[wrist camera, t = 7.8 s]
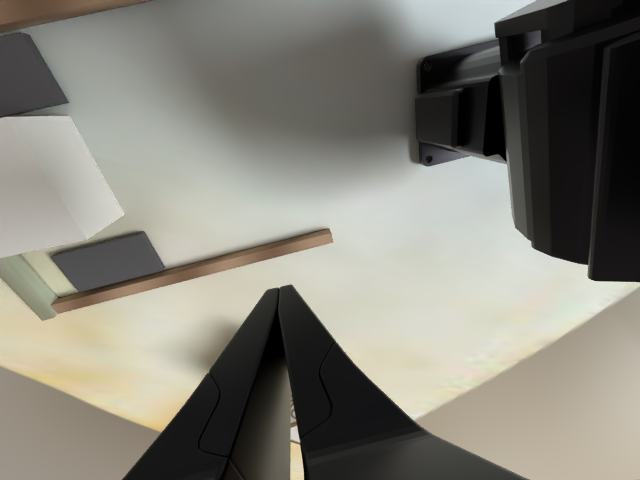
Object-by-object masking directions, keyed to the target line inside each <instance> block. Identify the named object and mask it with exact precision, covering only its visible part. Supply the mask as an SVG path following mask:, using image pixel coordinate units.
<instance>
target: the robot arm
mask: <svg viewBox="0 0 640 480" xmlns="http://www.w3.org/2000/svg"><path fill="white" fill-rule="evenodd" d="M494 26H495V36H496V38H499V40H495V41H491V42H487V43H483V44H478V45H474V46H470V47H465V48H461V49H457V50H453V51H448V52H444V53H440V54H435V55H431V56H427V57H425V58H422V59H421V60H420V61H419V63H418V65H417V89H418V96H417V97H416V99H415V110H416V138H417V140H418V141H419V159H420V163H421V164H422V165H424V166H432V165H436V164H440V163H444V162H448V161H452V160H456V159H460V158H464V157H468V156H473V157H477V158H482V159H486V160H490V161H495V162H499V163H504V164H507V167H508V177H509V187H510V198H511V208H512V217H513V220H514V224H515V228H517V229H518V230H519V231H520V232H521V233H522V234H523V235H524V236H525V237H526V238H527V239H528V240H530V241H531V245H532V247H533V248H534V249H536V250H538V251H540V252H543V253H545V254H547V255H549V256H552V257H555V258H559V259H563V260H566V261H570V262H574V263H578V264H584V265H588V278H589V279H591V280H594V281H617V282H640V0H537V1H535V2H533V3H531V4H529V5H527V6H525V7H524V8H522V9H520V10H518V11H516V12H514V13H512V14H510V15H508V16H506V17H504V18H503V19H501V20H499V21H497V22H495V23H494ZM426 62H427V63H428V65H429V68H428V70H427V71H426V70H425V69H424V64H425V63H426ZM427 156H430V158H429V160H428V161H427V162H426V157H427ZM291 393H292V399H293V405H294V411H295V417H296V423H297V428H298V434H299V439H300V446H301V452H302V459H303V468H304V480H529V479H526V478H524V477H522V476H520V475H518V474H516V473H514V472H511V471H509V470H507V469H505V468H503V467H501V466H499V465H496V464H494V463H492V462H490V461H488V460H486V459H484V458H482V457H480V456H478V455H475V454H473V453H471V452H469V451H467V450H465V449H463V448H461V447H458V446H456V445H454V444H452V443H450V442H448V441H446V440H444V439H441V438H439V437H437V436H435V435H433V434H432V433H430V432H428V431H427V430H425V429H424V428H423V427H421V426H420V425H418V424H417V423H416V422H415V421H414V420H412V419H411V418H410V417H409V416H408V415H407V414H406V413H405V412H404V411H403V410H402V409H401V408H399V407H398V406H397V405H396V404H395V403H394V402H393V401H392V400H391V399H390V398H389V397H388V396H387V395H386V394H385V393H384V392H383V391H382V390H381V389H380V388H378V387H377V386H376V385H375V384H374V383H373V382H372V381H371V380H370V379H369V378H368V377H367V376H366V375H365V374H364V373H363V372H362V371H361V370H360V369H359V368H358V367H357V366H356V365H355V364H354V363H353V361H352V360H351V359H350V358H349V357H348V355H347V354H346V353H345V352H344V351H343V349H342V348H341V347H340V346H339V344H338V343H336V341H335V339H334V338H333V337H332V335H331V334H330V333H329V332H328V330H327V329H326V328H325V326H324V325H323V324H322V323H321V321H320V320H319V319H318V317H317V316H316V315H315V314H314V312H313V311H312V310H311V308H310V307H309V306H308V305H307V303H306V302H305V301H304V300H303V298H302V297H301V296H300V294H299V293H298V292H297V291H296V289H295V288H294V287H293V285H286V286H282V287H280V289H279V288H273V289H268V290H267V291H266V292H265V293H264V295H263V296H262V297H261V299H260V300H259V302H258V303H257V304H256V306H255V307H254V309H253V310H252V311H251V313H250V314H249V316H248V317H247V318H246V320H245V321H244V323H243V324H242V325H241V327H240V328H239V330H238V331H237V332H236V334H235V335H234V337H233V338H232V339H231V341H230V342H229V344H228V345H227V347H226V348H225V349H224V351H223V352H222V354H221V355H220V356H219V358H218V359H217V361H216V362H215V363H214V365H213V366H212V368H211V369H210V370H209V373H207V374H206V376H205V377H204V379H203V380H202V381H201V383H200V384H199V386H198V387H197V388H196V390H195V391H194V392H193V394H192V395H191V396H190V398H189V399H188V400H187V402H186V403H185V404H184V406H183V407H182V408H181V409H180V411H179V412H178V413H177V414H176V415H175V417H174V418H173V419H172V420H171V422H170V423H169V424H168V425H167V427H166V428H165V429H164V430H163V431H162V433H161V434H160V435H159V436H158V438H157V439H156V440H155V441H154V442H153V444H152V445H151V446H150V447H149V448H148V449H147V451H146V452H145V453H144V454H143V456H142V457H141V458H140V459H139V460H138V461H137V462H136V464H135V465H134V466H133V467H132V468H131V470H130V471H129V472H128V473H127V475H126V476H125V477H124V478H123V479H122V480H290V437H291Z"/></svg>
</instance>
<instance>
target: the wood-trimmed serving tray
mask: <svg viewBox="0 0 640 480" xmlns="http://www.w3.org/2000/svg"><path fill="white" fill-rule="evenodd" d="M146 1H151V0H0V33H2V32H7V31H11V30H16V29H21V28H25V27H30V26H34V25H39V24H44V23H48V22H53V21H58V20H62V19H67V18H72V17H76V16H81V15H86V14H90V13H95V12H100V11H104V10H109V9H114V8H118V7H123V6H128V5H132V4H137V3H142V2H146ZM329 243H333V239H332V235H331V232H330V229H326V230H322V231H318V232H314V233H311V234H307V235H303V236H299V237H295V238H291V239H287V240H283V241H279V242H276V243H272V244H268V245H264V246H260V247H256V248H252V249H248V250H244V251H241V252H237V253H233V254H229V255H225V256H221V257H217V258H213V259H209V260H206V261H202V262H198V263H194V264H190V265H186V266H182V267H178V268H174V269H171V270H167V271H163V272H159V273H155V274H151V275H147V276H143V277H139V278H136V279H132V280H128V281H124V282H120V283H116V284H112V285H108V286H104V287H101V288H97V289H93V290H89V291H85V292H81V293H77V294H73V295H69V296H66V297H62V298H58V297H57V296H56V295H55V293H54V292H53V291H52V290H51V289H50V288H49V287H48V285H47V284H46V283H45V282H44V281H43V280H42V279H41V277H40V276H39V275H38V274H37V273H36V272H35V271H34V269H33V268H32V267H31V266H30V265H29V264H28V263H27V261H26V260H25V259H24V258H23V257H22V256H21V255H20V254H17V255H13V256H8V257H3V258H0V277H1V278H2V279H3V280H4V281H5V282H6V283H7V285H8V286H9V287H10V288H11V289H12V290H13V291H14V292H15V293H16V294H17V295H18V296H19V297H20V298H21V299H22V300H23V301H24V302H25V303H26V304H27V305H28V306H29V307H30V308H31V309H32V311H33V312H34V313H35V314H36V315H37V316H38V317H39V318H40V319H41V320H42V321H43V320H47V319H51V318H54V317H55V316H56V315H57V314H59V313H63V312H67V311H71V310H75V309H78V308H82V307H86V306H90V305H94V304H98V303H101V302H105V301H109V300H113V299H117V298H121V297H125V296H128V295H132V294H136V293H140V292H144V291H148V290H152V289H155V288H159V287H163V286H167V285H171V284H175V283H179V282H182V281H186V280H190V279H194V278H198V277H202V276H206V275H209V274H213V273H217V272H221V271H225V270H229V269H232V268H236V267H240V266H244V265H248V264H252V263H256V262H259V261H263V260H267V259H271V258H275V257H279V256H283V255H286V254H290V253H294V252H298V251H302V250H306V249H310V248H313V247H317V246H321V245H325V244H329Z"/></svg>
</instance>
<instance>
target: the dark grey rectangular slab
mask: <svg viewBox="0 0 640 480" xmlns="http://www.w3.org/2000/svg"><path fill="white" fill-rule="evenodd" d="M64 103H69V102H68V100H67V99H66V97H65V95H64V93H63V92H62V90H61V88H60V87H59V85H58V83H57V81H56V80H55V78H54V76H53V75H52V73H51V71H50V70H49V68H48V66H47V64H46V63H45V61H44V59H43V58H42V56H41V54H40V52H39V51H38V49H37V47H36V46H35V44H34V42H33V40H32V39H31V37H30V35H27V34H24V33H21V32H20V33H15V34H11V35H6V36H1V37H0V118H3V117H7V116H12V115H16V114H20V113H25V112H29V111H34V110H38V109H42V108H47V107H51V106H56V105H60V104H64ZM51 258H52V260H53V261H54V262H55V263H56V265H57V266H58V267H59V268H60V270H61V271H62V272H63V273H64V274H65V276H66V277H67V278H68V279H69V281H70V282H71V283H72V284H73V285H74V287H75V288H76V289H77V290H78V292H82V291H86V290H90V289H94V288H98V287H101V286H105V285H109V284H113V283H117V282H121V281H125V280H129V279H133V278H136V277H140V276H144V275H148V274H152V273H156V272H160V271H163V269H164V268H165V266H164V264H163V263H162V261H161V259H160V258H159V256H158V254H157V252H156V251H155V249H154V247H153V246H152V244H151V242H150V240H149V239H148V237H147V235H146V234H145V232H140V233H136V234H132V235H128V236H124V237H120V238H116V239H112V240H108V241H104V242H100V243H96V244H92V245H88V246H84V247H80V248H76V249H72V250H68V251H64V252H60V253H56V254H55V255H53V256H51Z"/></svg>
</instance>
